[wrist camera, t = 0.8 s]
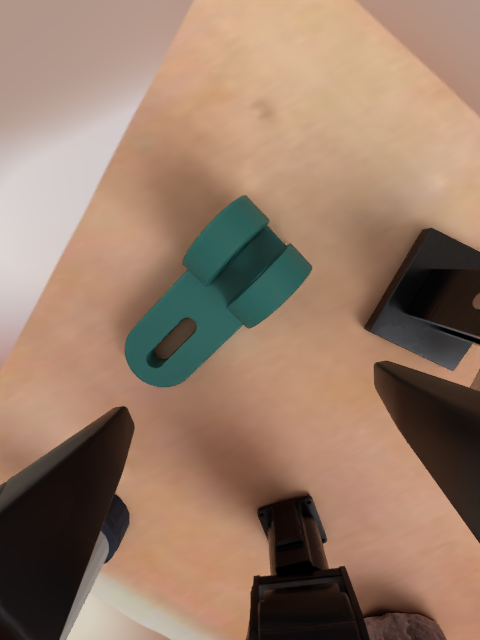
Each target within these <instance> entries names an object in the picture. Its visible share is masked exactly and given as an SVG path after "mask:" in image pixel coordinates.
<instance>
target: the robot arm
mask: <svg viewBox="0 0 480 640" xmlns="http://www.w3.org/2000/svg"><path fill="white" fill-rule="evenodd" d="M374 385H375V388H376V390H377V392H378V394H379V396H380V398H381V399H382V401H383V403H384V405H385V406H386V408H387V410H388V412H389V414H390V415H391V417H392V419H393V421H394V422H395V424H396V426H397V427H398V429H399V431H400V432H401V434H402V435H403V436H404V438H405V439H406V441H407V442H408V443H409V445H410V446H411V448H412V449H413V451H414V452H415V453H416V455H417V456H418V458H419V459H420V460H421V462H422V463H423V465H424V466H425V467H426V469H427V470H428V472H429V473H430V474H431V476H432V477H433V479H434V480H435V481H436V483H437V484H438V486H439V487H440V488H441V490H442V491H443V493H444V494H445V495H446V497H447V498H448V500H449V501H450V502H451V504H452V505H453V507H454V508H455V509H456V511H457V512H458V514H459V515H460V516H461V518H462V519H463V521H464V522H465V523H466V525H467V526H468V528H469V529H470V530H471V532H472V533H473V535H474V536H475V537H476V539H477V540H478V542H479V543H480V391H478V390H475V389H472V388H469V387H465V386H462V385H459V384H456V383H453V382H450V381H447V380H444V379H441V378H438V377H435V376H432V375H429V374H426V373H423V372H420V371H417V370H414V369H411V368H408V367H405V366H402V365H399V364H396V363H393V362H390V361H382V362H376V363H375V364H374ZM133 433H134V422H133V420H132V418H131V415H130V413H129V411H128V409H127V408H126V407H125V406H122V407H116V408H113V409H112V410H110V411H109V412H107V413H106V414H104V415H103V416H101V417H100V418H98V419H97V420H95V421H94V422H92V423H91V424H90V425H88V426H87V427H85V428H84V429H82V430H81V431H79V432H78V433H76V434H75V435H73V436H72V437H71V438H69V439H68V440H66V441H65V442H63V443H62V444H60V445H59V446H57V447H56V448H54V449H53V450H51V451H50V452H49V453H47V454H46V455H44V456H43V457H41V458H40V459H38V460H37V461H35V462H34V463H32V464H31V465H30V466H28V467H27V468H25V469H24V470H22V471H21V472H19V473H18V474H16V475H15V476H13V477H12V478H10V479H9V480H8V481H7V482H5V483H3V484H2V485H0V640H60V638H61V635H62V632H63V630H64V627H65V624H66V622H67V619H68V616H69V614H70V611H71V608H72V606H73V603H74V600H75V598H76V595H77V592H78V590H79V587H80V584H81V582H82V579H83V576H84V574H85V571H86V568H87V566H88V563H89V560H90V558H91V555H92V552H93V550H94V547H95V544H96V542H97V539H98V537H99V534H100V531H101V529H102V526H103V523H104V521H105V518H106V515H107V513H108V510H109V507H110V505H111V502H112V499H113V497H114V494H115V491H116V489H117V486H118V483H119V481H120V478H121V475H122V472H123V469H124V466H125V462H126V459H127V455H128V451H129V448H130V444H131V440H132V437H133ZM257 514H258V517H259V520H260V522H261V525H262V527H263V529H264V532H265V534H266V536H267V539H268V541H269V556H270V571H271V575H270V576H261V577H260V576H254V582H253V586H252V591H251V608H250V621H249V626H248V632H247V637H246V640H370V638H369V634H368V631H367V627H366V624H365V621H364V618H363V615H362V612H361V609H360V606H359V603H358V601H357V598H356V595H355V593H354V590H353V587H352V584H351V582H350V579H349V576H348V573H347V571H346V568H345V566H340V567H339V568H334V569H329V567H328V563H327V559H326V556H325V552H324V548H323V543H326V542H327V538H326V534H325V532H324V529H323V526H322V524H321V521H320V518H319V515H318V513H317V510H316V507H315V505H314V502H313V499H312V497H311V496H304V497H300V498H296V499H292V500H288V501H285V502H281V503H277V504H273V505H269V506H265V507H262V508H259V509H258V511H257Z"/></svg>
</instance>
